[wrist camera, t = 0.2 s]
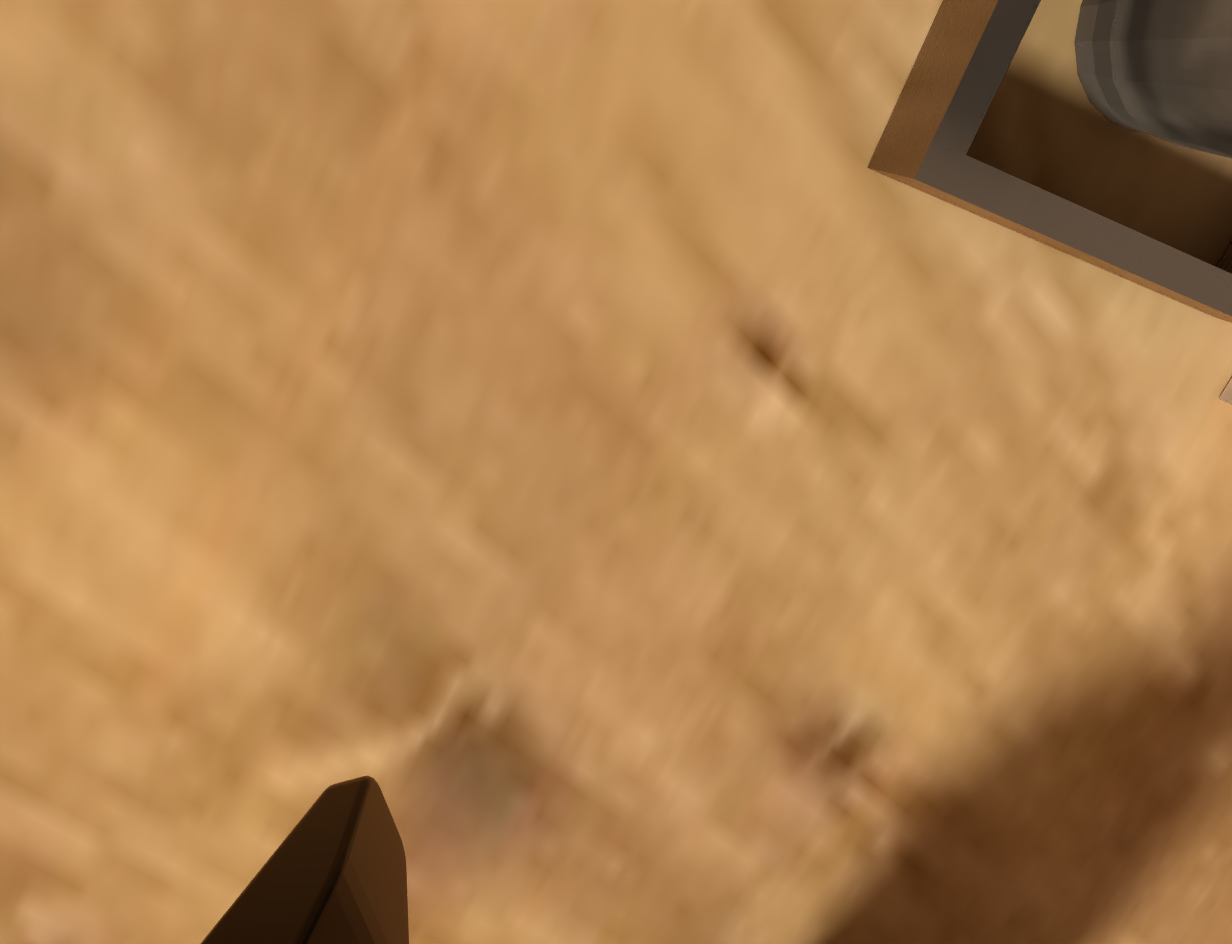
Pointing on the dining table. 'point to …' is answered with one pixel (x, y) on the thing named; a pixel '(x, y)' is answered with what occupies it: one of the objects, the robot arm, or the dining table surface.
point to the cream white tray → (1227, 393)
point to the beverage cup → (1160, 68)
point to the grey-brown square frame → (938, 165)
